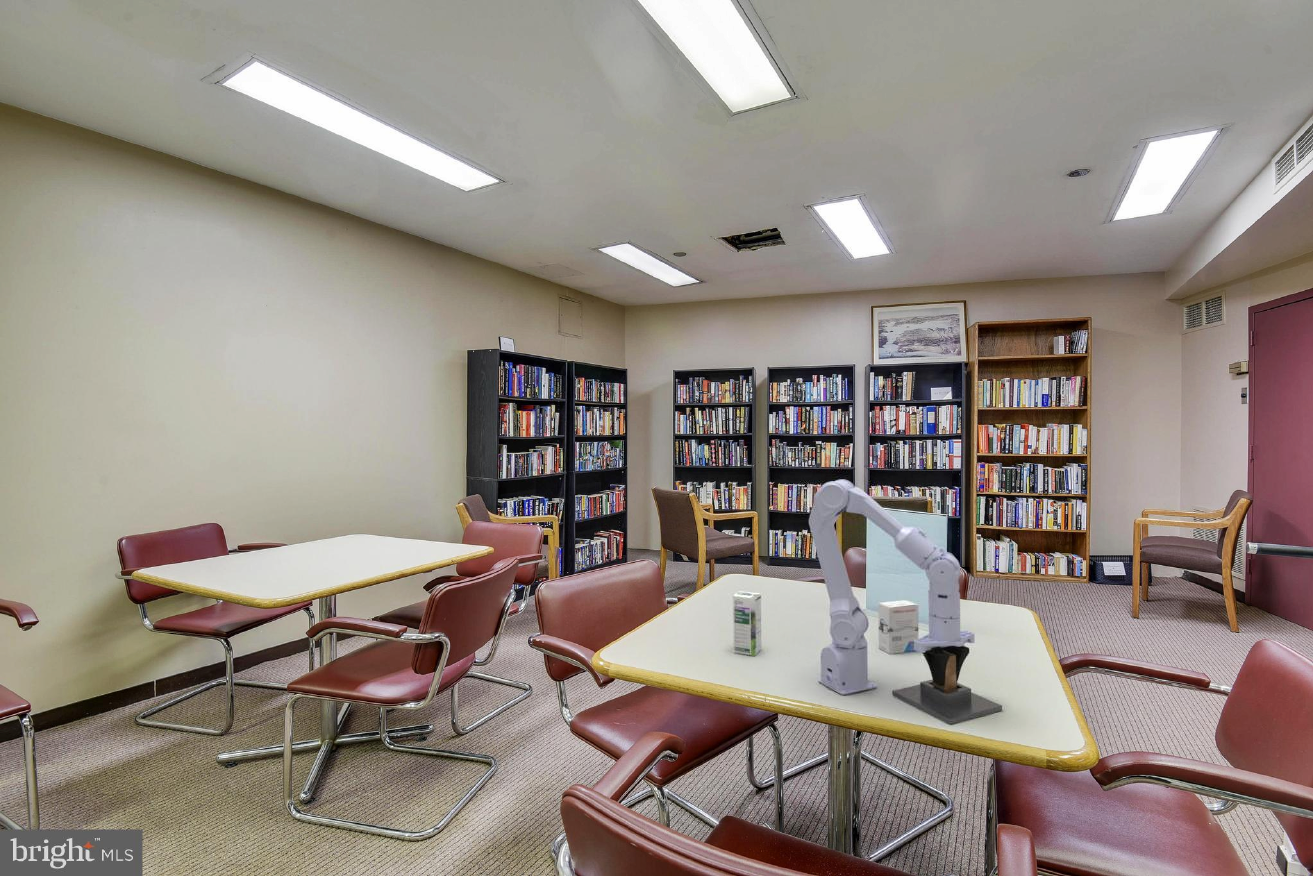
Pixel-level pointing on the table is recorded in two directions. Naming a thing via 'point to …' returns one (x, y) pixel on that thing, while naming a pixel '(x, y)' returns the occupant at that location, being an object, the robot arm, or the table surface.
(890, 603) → the ink box
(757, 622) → the syrup box
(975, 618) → the table surface
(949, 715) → the socket plate
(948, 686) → the oak peg
